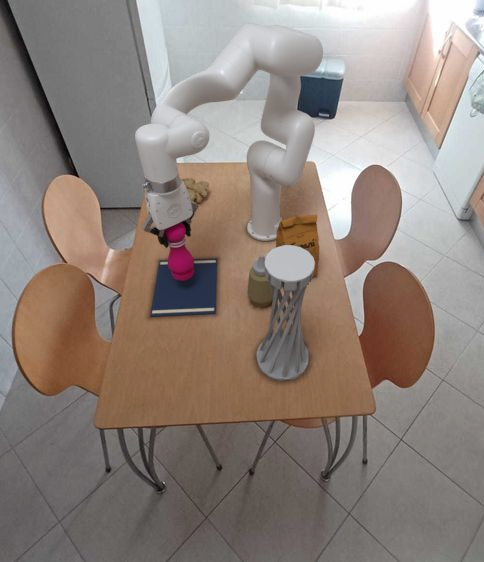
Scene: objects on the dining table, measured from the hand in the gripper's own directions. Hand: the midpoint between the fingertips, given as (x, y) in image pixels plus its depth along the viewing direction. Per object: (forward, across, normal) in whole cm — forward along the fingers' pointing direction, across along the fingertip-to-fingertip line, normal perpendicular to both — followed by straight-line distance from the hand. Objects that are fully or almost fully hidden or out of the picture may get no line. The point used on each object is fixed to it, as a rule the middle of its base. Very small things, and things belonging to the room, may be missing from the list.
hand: (175, 238), depth 103 cm
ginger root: (+19, +24, +37) cm, 48 cm away
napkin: (+19, 0, 0) cm, 19 cm away
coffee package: (+19, +29, -17) cm, 39 cm away
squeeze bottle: (+19, +14, -18) cm, 30 cm away
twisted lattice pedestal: (+19, +6, -37) cm, 42 cm away
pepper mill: (+13, 0, 0) cm, 13 cm away
